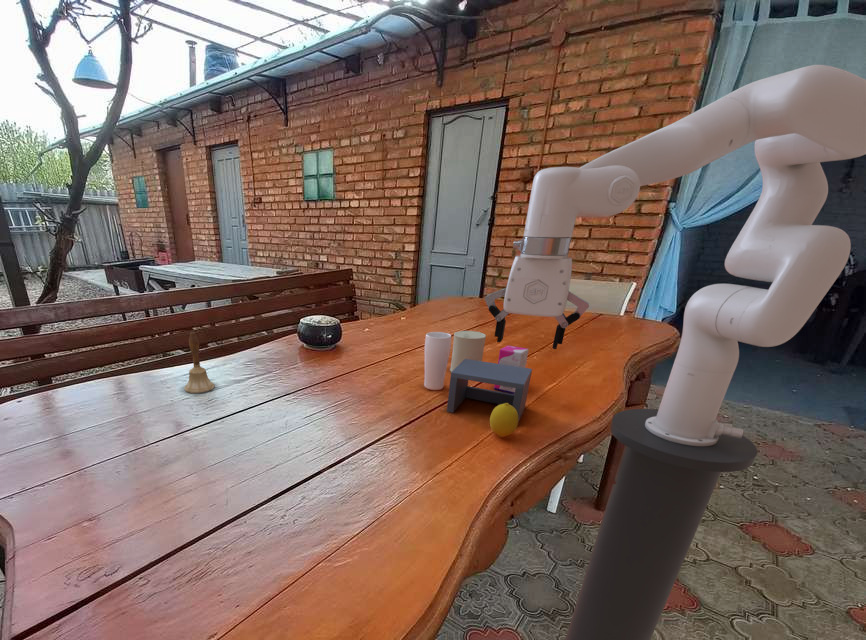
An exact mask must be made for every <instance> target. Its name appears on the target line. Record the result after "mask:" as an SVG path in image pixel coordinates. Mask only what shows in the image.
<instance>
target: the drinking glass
mask: <svg viewBox="0 0 866 640" xmlns="http://www.w3.org/2000/svg"><path fill="white" fill-rule="evenodd" d="M451 347H452V334H450V333H448V332H445V331H430V332H427V333H426V334H425V338H424V348H423V352H424V354H423V357H424V359H423V360H424V361H423V363H424V364H423V365H424V370H423V371H424V377H423V378H424V381H423V386H424V388H425V389H427V390H429V391H430V390H431V391H440V390H442V389H444V386H445V379H446V374H447V369H448V363H449V359H450V354H451Z"/></svg>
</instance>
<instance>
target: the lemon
mask: <svg viewBox="0 0 866 640" xmlns="http://www.w3.org/2000/svg"><path fill="white" fill-rule="evenodd" d="M518 425H519V422H518V413H517V411H516V409H515V408H514V407H513V406H511V405H509V404H508V403H505V404H497V406H495V407H494V408H493V409H492V411H491V414H490V417H489V426H490V429H491V431H492V432H493V433H494V434H495V435H497V436H498V437H499V438H504V437H507V436H510V435H512V434H513V433H514V432H515V431H516V430H517V427H518Z"/></svg>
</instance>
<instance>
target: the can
mask: <svg viewBox="0 0 866 640" xmlns="http://www.w3.org/2000/svg"><path fill="white" fill-rule="evenodd" d="M486 338H487V335H486V334H485V333H483V332H480V331H474V330H459V331H455V332H454V333H453V342H452V344H453V345H452V353H451V354H452V355H451V362H450V368H449V371H450V373H451V372H452V371H453V370H454V369H455V368H456V367H457V366H458V365H459V364H460V363H461V362H462V361H463V360H464V359H469V360H476V361H483V358H484V349H485V344H486Z"/></svg>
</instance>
